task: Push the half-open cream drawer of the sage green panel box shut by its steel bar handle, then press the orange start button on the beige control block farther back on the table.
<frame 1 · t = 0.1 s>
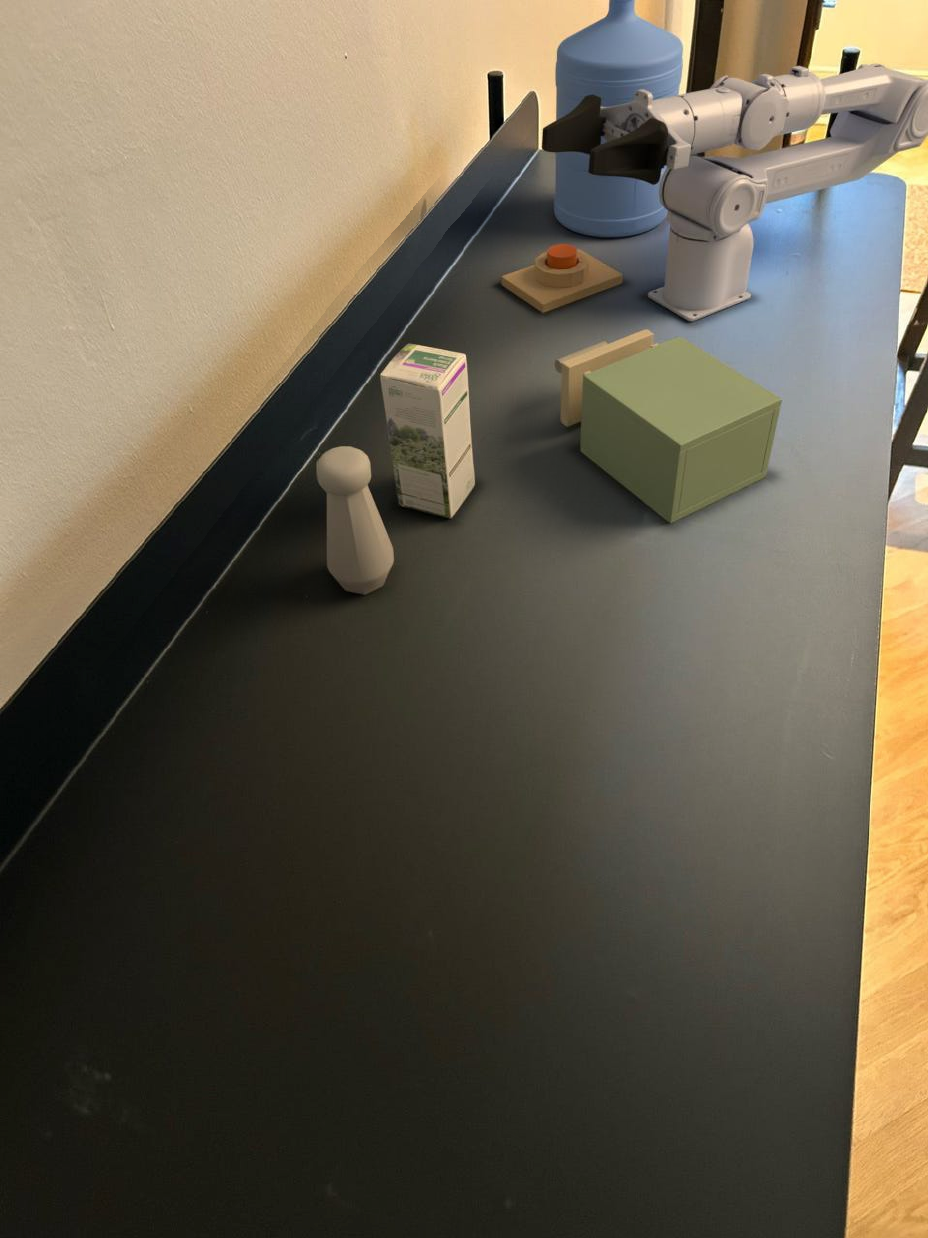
hand: (567, 150, 92), 22 cm above the table, tool horizontal, fingers open, 7 cm apart
start button: (561, 257, 116), point 3 cm above the table, slide at 0.1 cm
syrup box: (437, 498, 91), on the table
water jug: (610, 216, 131), on the table
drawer: (629, 393, 93), point 4 cm above the table, slide at 3.0 cm
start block: (561, 284, 118), on the table
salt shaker: (364, 579, 83), on the table
sage green panel box: (670, 463, 92), on the table
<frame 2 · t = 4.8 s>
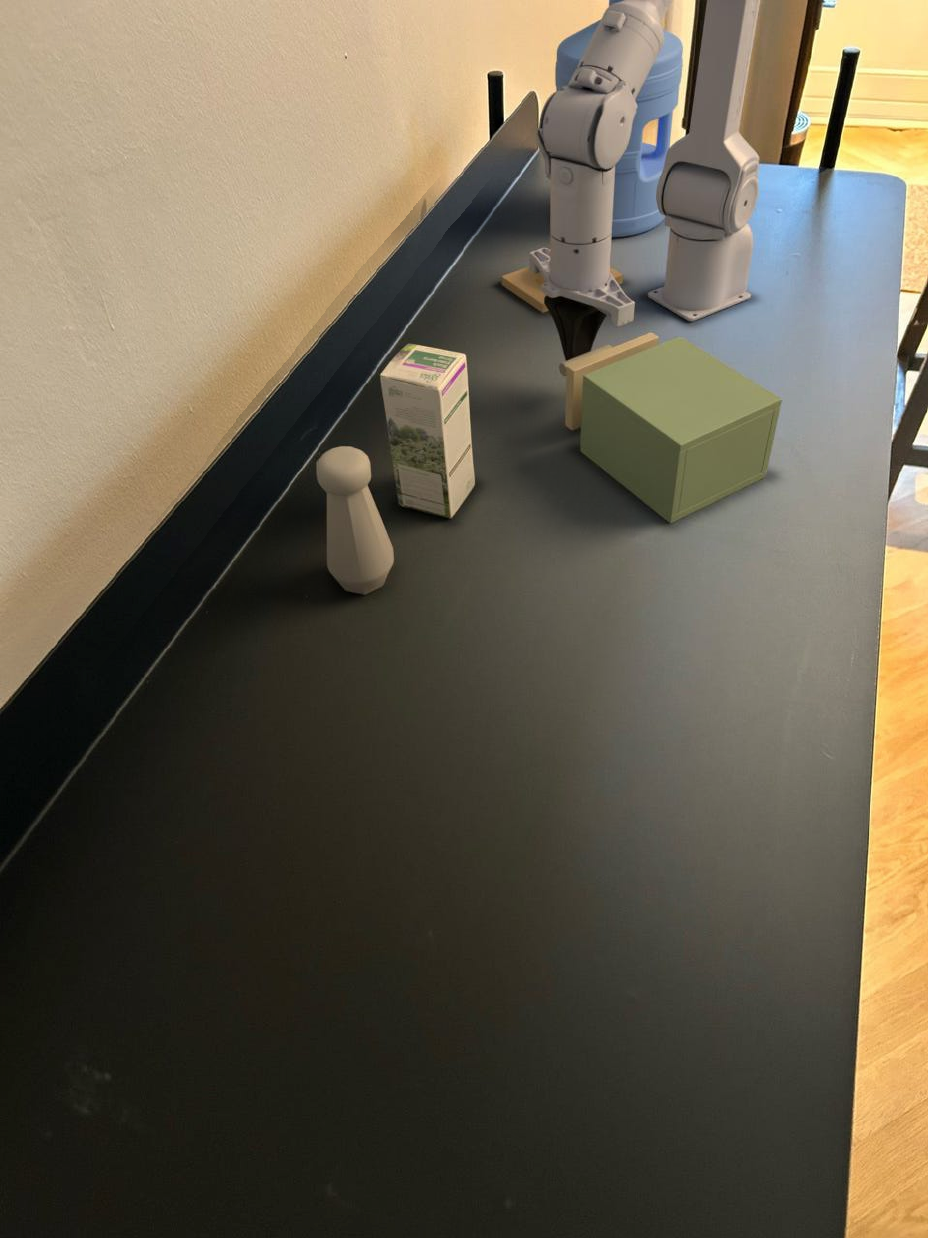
hand: (577, 360, 98), 4 cm above the table, tool pointing down, fingers closed
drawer: (634, 397, 92), point 4 cm above the table, slide at 2.2 cm, touching gripper
everything else where it was.
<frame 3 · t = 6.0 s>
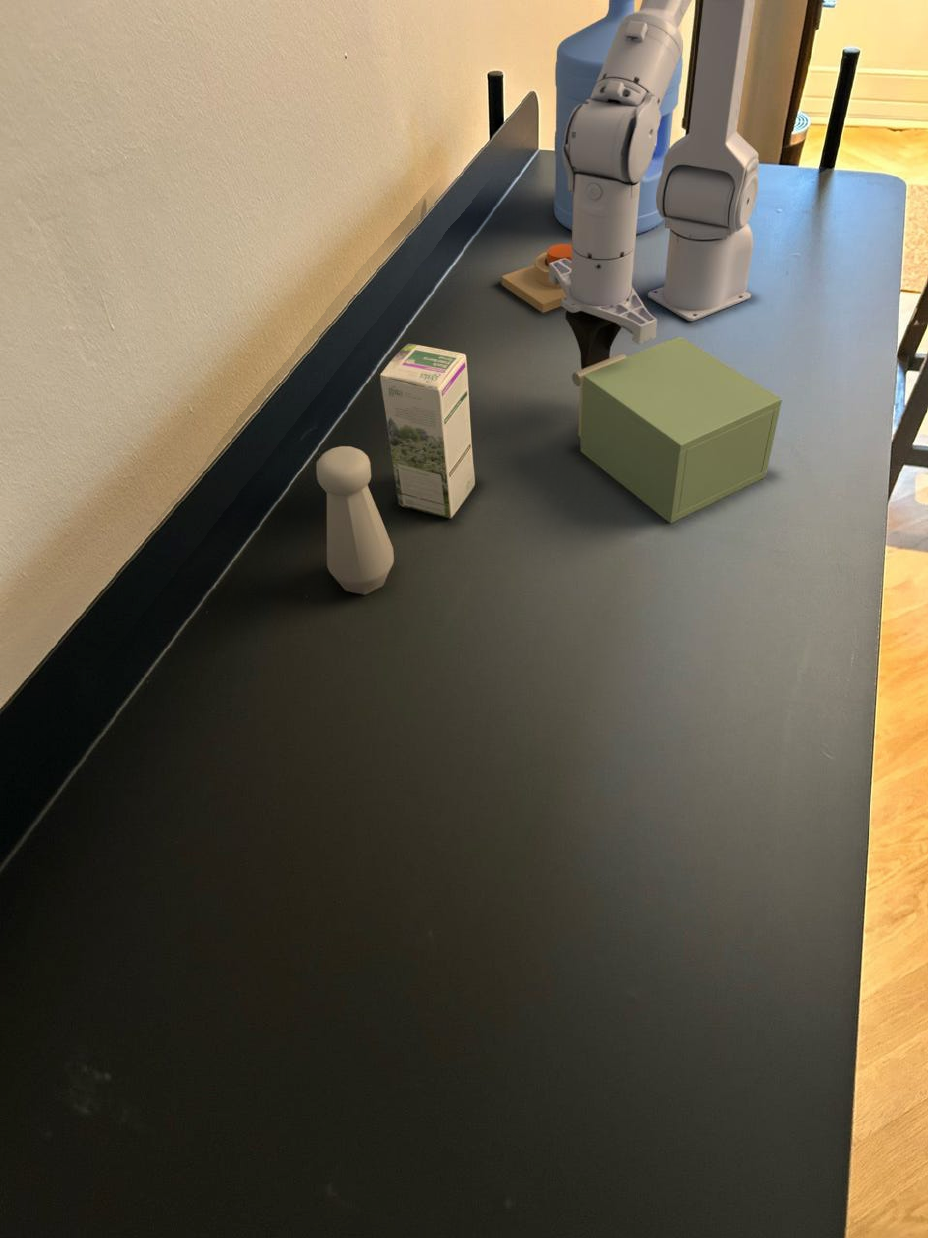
hand: (595, 374, 97), 4 cm above the table, tool pointing down, fingers closed, pressing on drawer
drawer: (648, 407, 91), point 4 cm above the table, slide at 0.0 cm, touching sage green panel box, gripper
everything else where it was.
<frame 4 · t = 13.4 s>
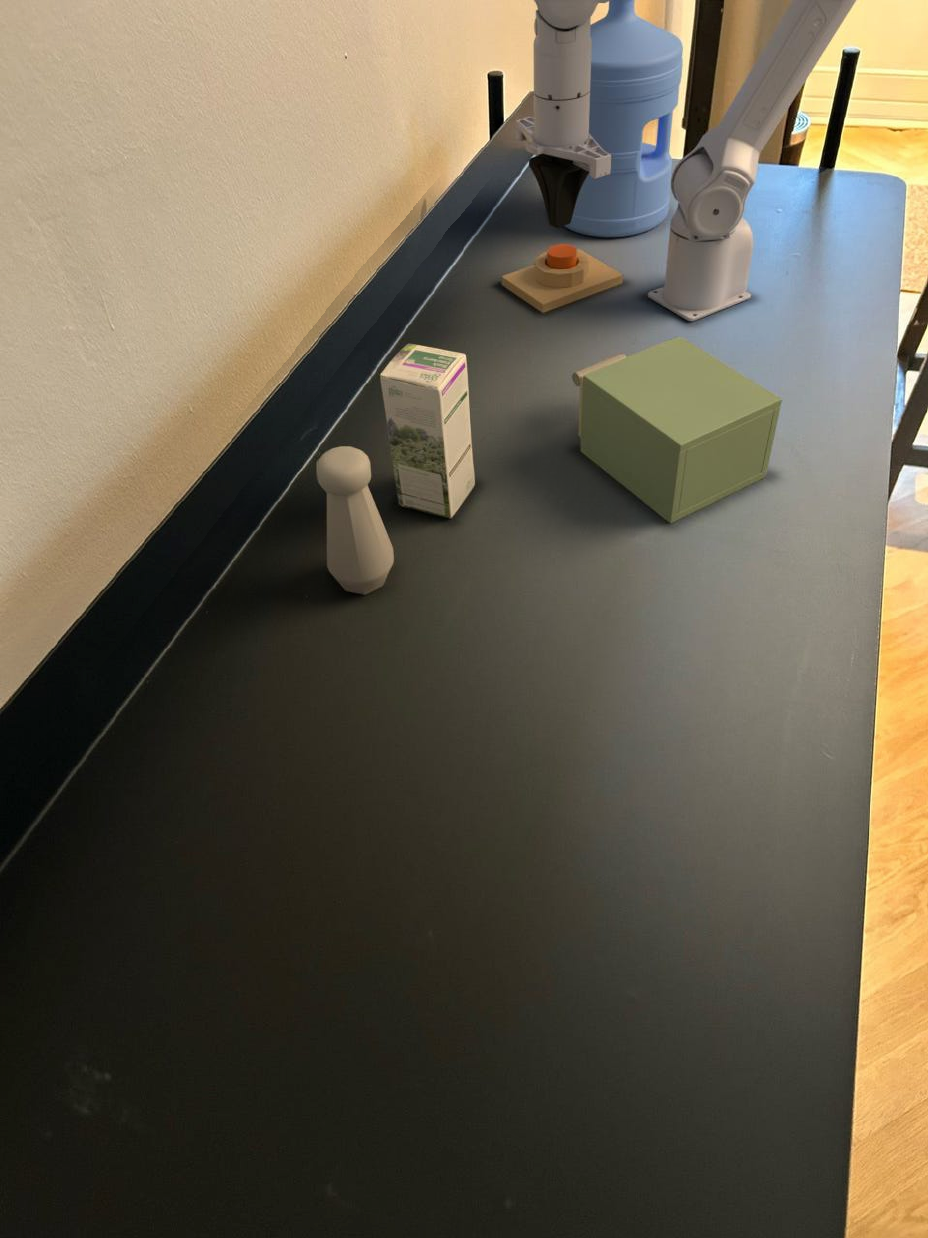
hand: (560, 223, 106), 10 cm above the table, tool pointing down, fingers closed
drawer: (648, 407, 91), point 4 cm above the table, slide at 0.0 cm, touching sage green panel box
everything else where it was.
at the end: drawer slide at 0.0 cm; start button pushed in 1.2 cm at the most during the clip, back to where it started at the end; start button slide at 0.1 cm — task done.
